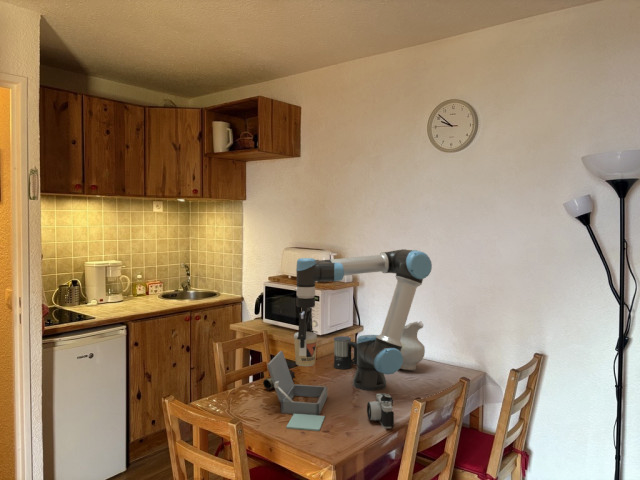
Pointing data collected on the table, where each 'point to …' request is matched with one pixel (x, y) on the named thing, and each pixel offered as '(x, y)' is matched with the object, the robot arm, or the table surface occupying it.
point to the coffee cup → (310, 349)
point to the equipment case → (294, 389)
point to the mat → (306, 422)
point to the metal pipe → (269, 383)
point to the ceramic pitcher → (411, 346)
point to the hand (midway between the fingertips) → (305, 352)
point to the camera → (381, 410)
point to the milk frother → (344, 352)
